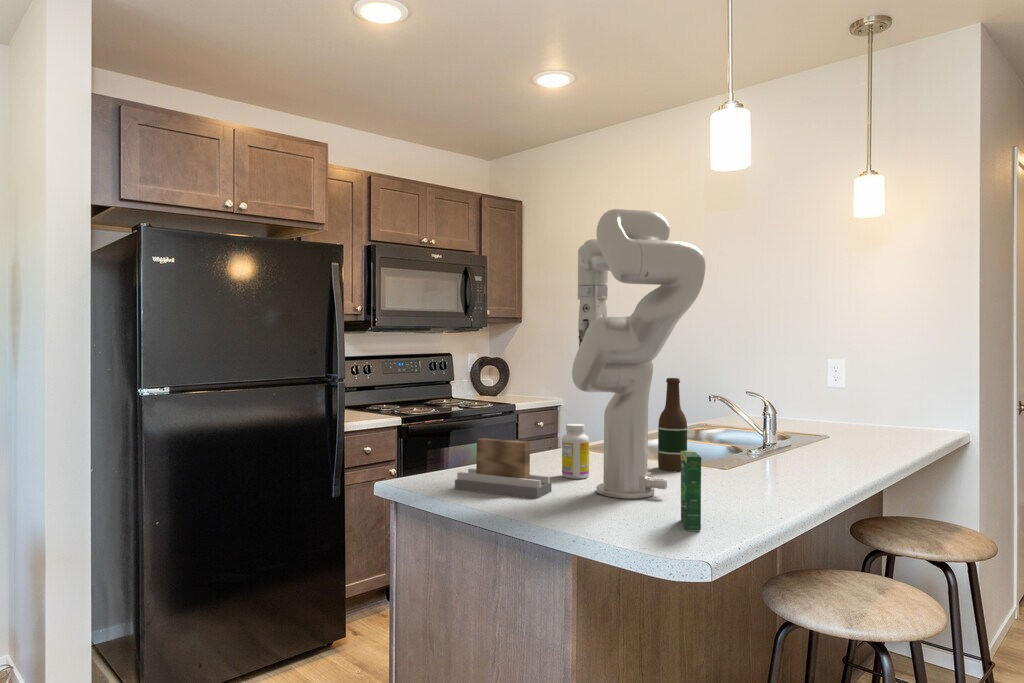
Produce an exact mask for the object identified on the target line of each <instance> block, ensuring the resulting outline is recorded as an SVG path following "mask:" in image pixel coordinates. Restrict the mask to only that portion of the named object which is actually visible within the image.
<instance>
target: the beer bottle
mask: <svg viewBox="0 0 1024 683" xmlns="http://www.w3.org/2000/svg"><path fill="white" fill-rule="evenodd" d="M665 382H666V393H665V394H666V396H665V405H664V409H663V410H662V412H661V413H660V416H659V418H658V426H657V427H658V428H657V434H658V435H657V436H658V437H657V464H658V469H659V470H660V471H666V472H675V471H676V472H679V471H680V472H681V451H688V420H687V418H686V415H685V413H684V412H683V410H682V408H681V399H680V398H681V397H680V383H681V380H680V378H678V377H667V378H666V380H665ZM676 472H675V473H676Z"/></svg>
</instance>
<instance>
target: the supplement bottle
mask: <svg viewBox="0 0 1024 683" xmlns="http://www.w3.org/2000/svg"><path fill="white" fill-rule="evenodd" d="M565 430H566V433H565V434H564V435H563V436H562V438H561V475H562V477H563V478H565V479H573V480H574V479H575V480H581V479H587V478H588V477H589V476H590V438H589V436H588V435H586V434H585V430H586V425H585V424H583V423H567V424H566V425H565Z"/></svg>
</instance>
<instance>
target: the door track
mask: <svg viewBox="0 0 1024 683" xmlns="http://www.w3.org/2000/svg"><path fill="white" fill-rule="evenodd" d="M456 475H457V476H456V477H457V478H456V479H454V490H461V491H469V492H477V493H487V494H496V495H501V496H503V495H504V496H511V497H521V498H529V499H530V498H531V499H536V498H537V499H539V498H541V497H543V496H546V495H548V494H549V493H551V492H552V490H553V489H552V481H551V476H549V475H541V474H531V473H530V479H524V478H514V477H505V476H495V475H485V474H476V468H472V467H469V468H468V469H467V471H458V472H456Z"/></svg>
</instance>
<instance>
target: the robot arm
mask: <svg viewBox="0 0 1024 683" xmlns="http://www.w3.org/2000/svg"><path fill="white" fill-rule="evenodd" d="M670 228H671V227H670V224H669V223H668V220H667V219H666V217H664V216H663V215H662V214H660V213H658V212H655V211H651V210H637V209H617V208H615V209H614V208H613V209H609V210H608V211H605V213H603V214H602V216H601V217H600V218H599V221H598V223H597V226H596V232H595V233H596V238H593V239H588V240H586V241H585V242H584V243H583V245H580V247H578V251H577V300H578V301H579V306H578V322H577V323H578V324H577V325H578V328H577V330H578V336H577V337H578V350H577V352H576V354H575V357H574V361H573V363H572V369H571V374H572V375H571V378H572V382H573V384H574V386H575V387H576V388H577V389H578V390H579V391H581V392H585V393H612V394H613V393H614V394H613V396H612V397H611V398H610V400H609V401H608V403H607V406H606V407H605V409H604V412H603V413H604V414H603V480H602V481H603V483H600V484H597V485H596V493H597V494H599V495H601V496H605V497H610V498H615V499H645V498H650V497H652V496H654V495H655V489H657V490H667V488H668V481H667V480H665V479H663V478H654V477H653V476H652V471H648V459H649V458H648V446H649V444H648V443H649V442H648V438H649V433H648V432H649V430H648V429H649V424H648V423H649V400H650V399H649V398H650V397H649V396H650V390H651V386H652V379H653V374H654V364H653V360H655V359H656V358H657V356H658V355H659V353H660V352H661V351H662V349H663V347H664V346H665V344H666V343H667V341H668V339H669V337H670V335H671V334H672V333H673V330H674V329H675V327H676V325H677V324H678V322H679V320H681V318H682V317H683V316H684V315H685V314H686V313H687V312H688V311H689V309H690V308H691V307H692V306H693V304H694V303H695V301H696V299H697V298H698V296H699V295H700V292H701V290H702V288H703V284H704V280H705V276H706V260H705V256H704V254H703V252H702V251H701V250H700V248H698V247H697V246H695V245H693V244H691V243H688V242H684V241H680V240H679V241H678V240H669V237H670V232H671V229H670ZM609 272H611V275H612V276H613V277H614V279H616V281H618V282H619V283H622V284H627V285H628V284H629V285H654V286H655V285H657V286H658V285H659V286H658V287H656V288H654V289H653V290H651V291H649V292H648V293H647V294H646V295H645V296H644V297H643V298H641V299H640V301H638V303H637V304H636V306H635V307H634V308H635V309H634V310H633V312H632V314H631V315H628V316H608V308H607V302H606V301H607V300H608V286H609V284H608V282H609V281H608V275H609V274H608V273H609Z"/></svg>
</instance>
